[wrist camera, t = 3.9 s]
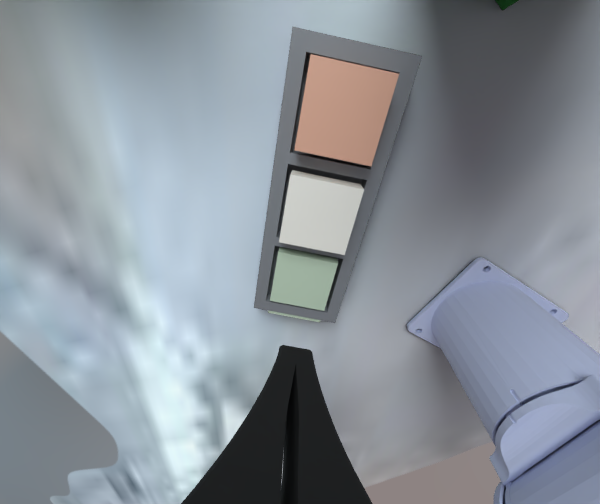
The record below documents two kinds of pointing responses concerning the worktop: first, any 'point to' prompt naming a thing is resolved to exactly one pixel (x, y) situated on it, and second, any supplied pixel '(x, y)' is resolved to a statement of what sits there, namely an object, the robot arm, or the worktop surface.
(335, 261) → the sage key
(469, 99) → the worktop surface
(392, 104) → the key panel
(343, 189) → the cream key
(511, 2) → the milk carton
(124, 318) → the worktop surface
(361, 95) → the terracotta key
